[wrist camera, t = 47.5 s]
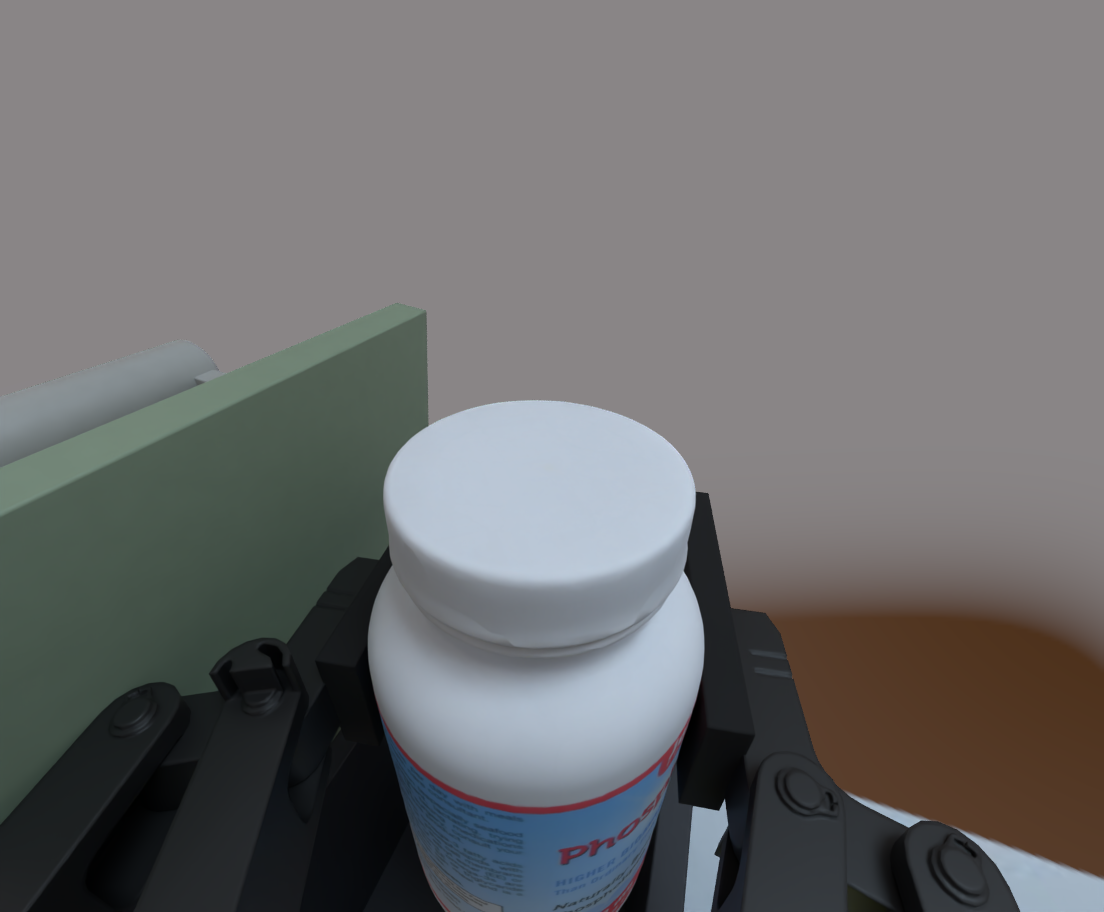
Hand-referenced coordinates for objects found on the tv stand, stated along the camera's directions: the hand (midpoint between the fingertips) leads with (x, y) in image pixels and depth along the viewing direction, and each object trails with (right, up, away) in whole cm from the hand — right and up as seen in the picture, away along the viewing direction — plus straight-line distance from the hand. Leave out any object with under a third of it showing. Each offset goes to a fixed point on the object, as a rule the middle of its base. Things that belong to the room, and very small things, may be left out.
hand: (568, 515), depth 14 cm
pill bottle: (-1, -8, -1) cm, 8 cm away
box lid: (-7, -2, -2) cm, 7 cm away
